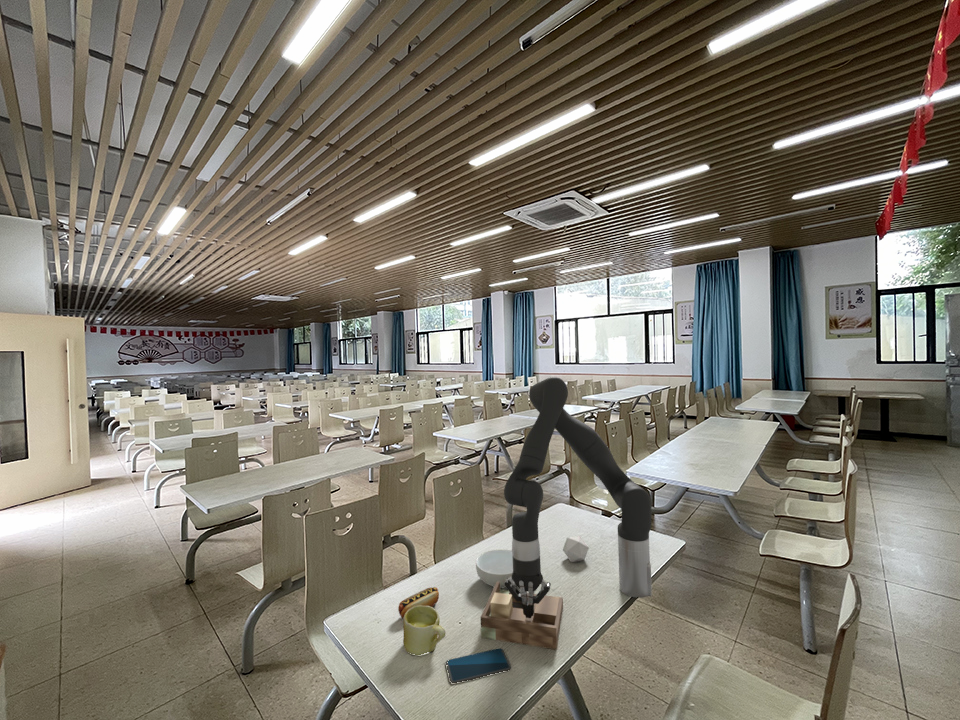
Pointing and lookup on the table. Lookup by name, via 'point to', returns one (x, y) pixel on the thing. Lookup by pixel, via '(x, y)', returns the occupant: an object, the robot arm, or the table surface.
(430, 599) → the hot dog
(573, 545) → the die
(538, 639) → the box
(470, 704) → the table surface
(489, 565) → the cereal bowl
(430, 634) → the mug
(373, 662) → the table surface
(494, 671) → the smartphone
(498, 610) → the maple block
